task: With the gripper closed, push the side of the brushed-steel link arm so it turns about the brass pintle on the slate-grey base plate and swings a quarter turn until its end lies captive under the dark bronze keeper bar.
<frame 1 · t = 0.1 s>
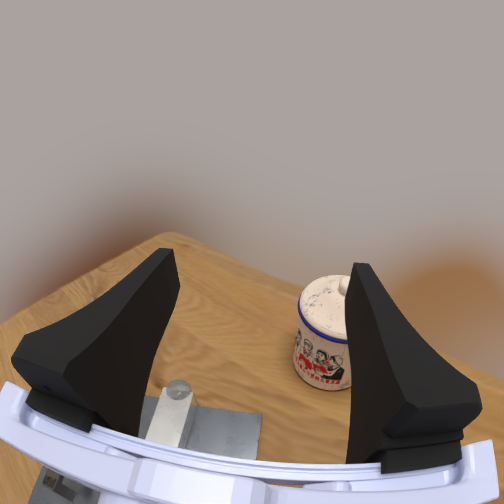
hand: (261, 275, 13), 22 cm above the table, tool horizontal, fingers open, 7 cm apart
keeper: (83, 466, 22), resting on base plate
base plate: (142, 472, 23), on the table
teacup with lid: (339, 368, 34), on the table
link: (165, 444, 24), point 2 cm above the table, hinge at 0.0°
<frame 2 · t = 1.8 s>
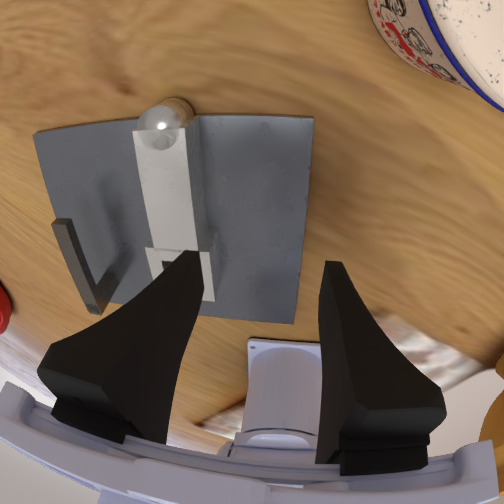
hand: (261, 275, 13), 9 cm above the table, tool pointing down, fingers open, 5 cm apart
keeper: (103, 240, 25), resting on base plate
base plate: (165, 229, 23), on the table
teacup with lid: (451, 28, 12), on the table
link: (177, 207, 20), point 2 cm above the table, hinge at 0.0°
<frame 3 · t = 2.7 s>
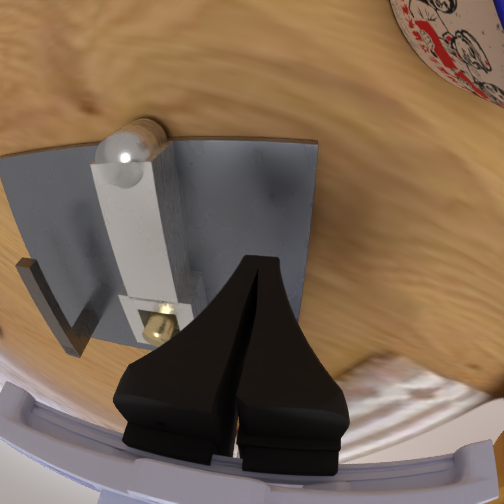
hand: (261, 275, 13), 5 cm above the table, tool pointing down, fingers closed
keeper: (78, 276, 21), resting on base plate
pintle: (176, 288, 21), resting on base plate
base plate: (143, 268, 20), on the table
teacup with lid: (488, 32, 9), on the table
link: (152, 251, 16), point 2 cm above the table, hinge at 0.0°
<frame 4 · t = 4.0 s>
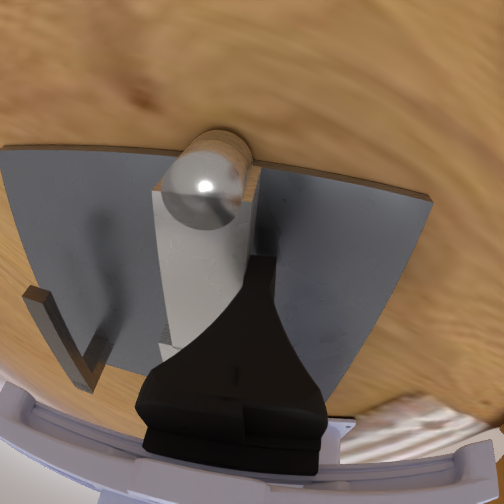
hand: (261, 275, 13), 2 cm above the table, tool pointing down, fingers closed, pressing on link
keeper: (93, 300, 18), resting on base plate
base plate: (182, 303, 17), on the table
link: (209, 297, 13), point 2 cm above the table, hinge at 1.2°, touching gripper
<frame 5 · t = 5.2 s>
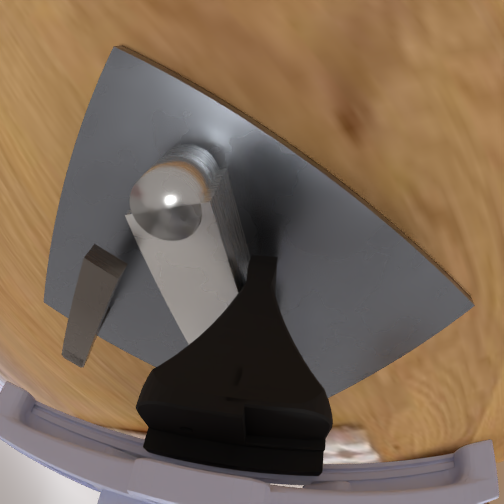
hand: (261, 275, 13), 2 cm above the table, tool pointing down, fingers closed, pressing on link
keeper: (119, 265, 16), resting on base plate
base plate: (230, 305, 16), on the table
link: (219, 304, 14), point 2 cm above the table, hinge at 45.1°, touching gripper
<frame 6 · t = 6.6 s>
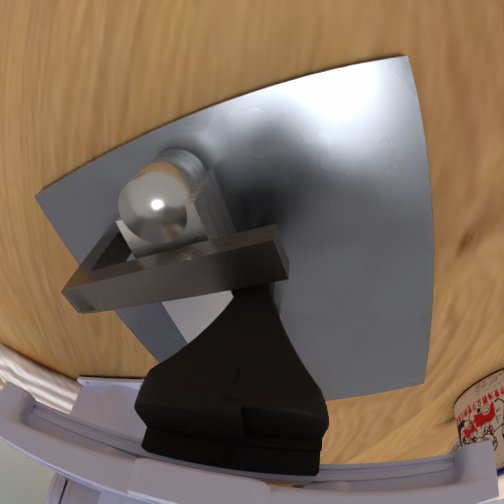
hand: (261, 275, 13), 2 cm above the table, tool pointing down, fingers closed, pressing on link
keeper: (185, 217, 14), resting on base plate
base plate: (264, 307, 16), on the table
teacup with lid: (482, 396, 21), on the table
link: (216, 304, 14), point 2 cm above the table, hinge at 85.3°, touching gripper
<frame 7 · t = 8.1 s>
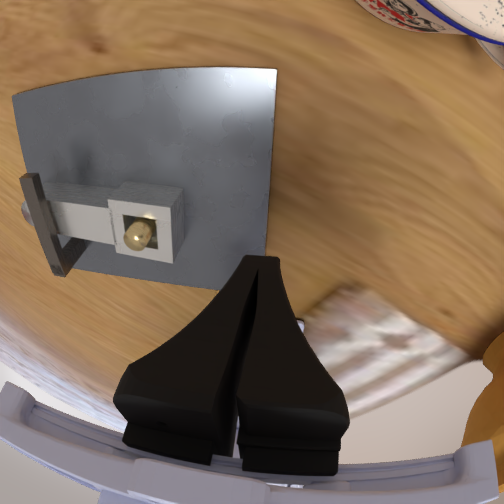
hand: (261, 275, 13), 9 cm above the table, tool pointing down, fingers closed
keeper: (72, 202, 23), resting on base plate
pintle: (157, 207, 23), resting on base plate
base plate: (130, 188, 22), on the table
link: (93, 213, 21), point 2 cm above the table, hinge at 85.6°
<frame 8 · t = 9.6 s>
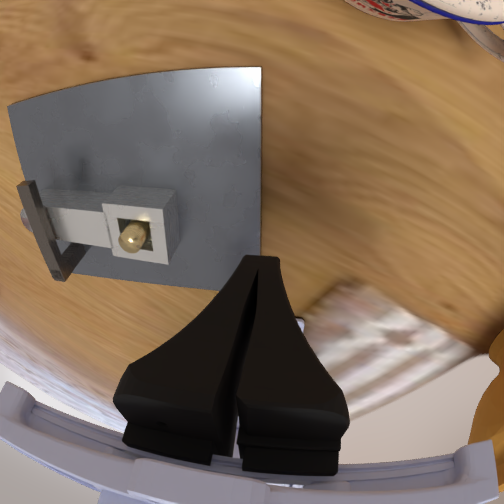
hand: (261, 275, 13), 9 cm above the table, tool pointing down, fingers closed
keeper: (70, 208, 24), resting on base plate
pintle: (152, 210, 23), resting on base plate
base plate: (125, 191, 22), on the table
link: (90, 217, 22), point 2 cm above the table, hinge at 85.6°, touching base plate
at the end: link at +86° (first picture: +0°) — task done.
